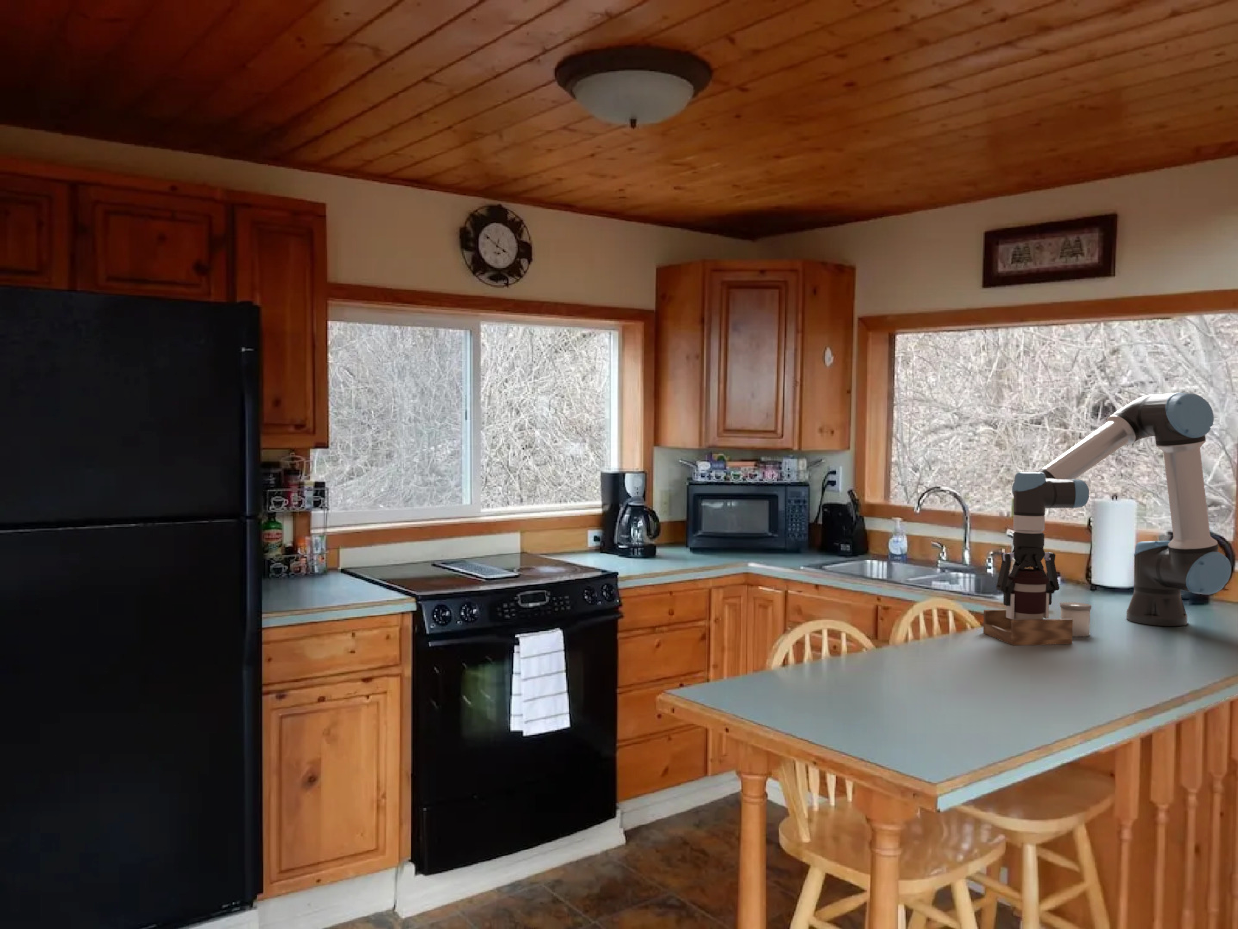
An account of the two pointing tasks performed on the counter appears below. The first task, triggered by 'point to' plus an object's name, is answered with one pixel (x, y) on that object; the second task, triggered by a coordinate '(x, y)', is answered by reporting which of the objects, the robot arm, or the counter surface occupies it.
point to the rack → (1027, 629)
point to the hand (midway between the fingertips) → (1027, 617)
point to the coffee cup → (1029, 594)
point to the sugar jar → (1077, 617)
